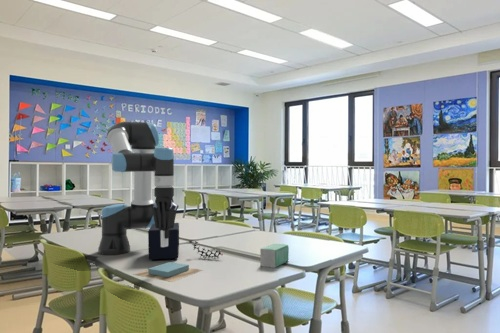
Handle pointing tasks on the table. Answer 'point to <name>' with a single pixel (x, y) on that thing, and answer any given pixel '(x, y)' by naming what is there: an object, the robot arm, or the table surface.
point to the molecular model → (207, 252)
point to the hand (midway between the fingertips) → (164, 246)
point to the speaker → (155, 244)
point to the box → (274, 255)
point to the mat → (171, 278)
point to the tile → (168, 269)
